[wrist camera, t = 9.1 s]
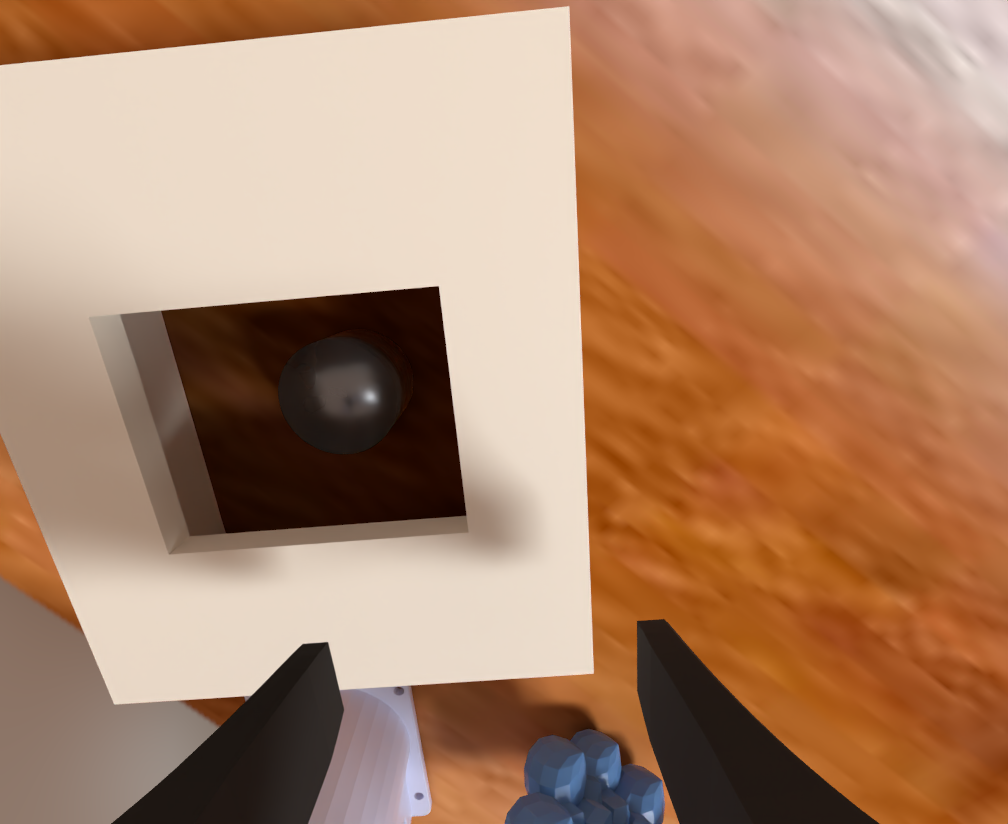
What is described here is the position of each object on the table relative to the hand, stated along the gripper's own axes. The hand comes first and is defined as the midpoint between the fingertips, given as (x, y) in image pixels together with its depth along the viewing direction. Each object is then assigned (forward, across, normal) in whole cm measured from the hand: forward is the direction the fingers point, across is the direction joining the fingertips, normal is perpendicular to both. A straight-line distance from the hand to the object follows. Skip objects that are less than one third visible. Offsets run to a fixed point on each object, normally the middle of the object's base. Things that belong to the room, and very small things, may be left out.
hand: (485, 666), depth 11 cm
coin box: (+9, +5, -5) cm, 12 cm away
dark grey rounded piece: (+10, +5, -5) cm, 12 cm away
